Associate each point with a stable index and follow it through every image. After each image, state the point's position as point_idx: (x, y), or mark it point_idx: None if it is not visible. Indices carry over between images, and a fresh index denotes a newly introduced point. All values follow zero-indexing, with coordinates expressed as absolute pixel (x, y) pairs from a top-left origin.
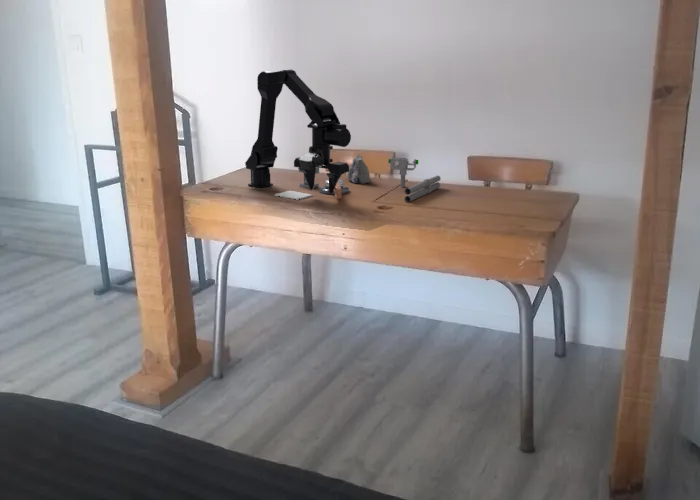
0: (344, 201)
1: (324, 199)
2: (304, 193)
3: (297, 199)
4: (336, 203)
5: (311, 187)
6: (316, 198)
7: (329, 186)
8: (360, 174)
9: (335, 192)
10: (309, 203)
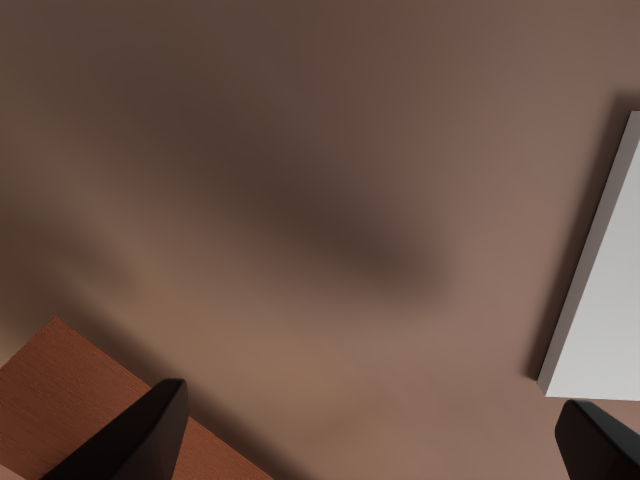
0: None
1: (325, 342)
2: None
3: (637, 116)
4: (72, 269)
5: (581, 437)
6: (435, 331)
7: (101, 468)
8: None
9: None
10: (351, 46)
